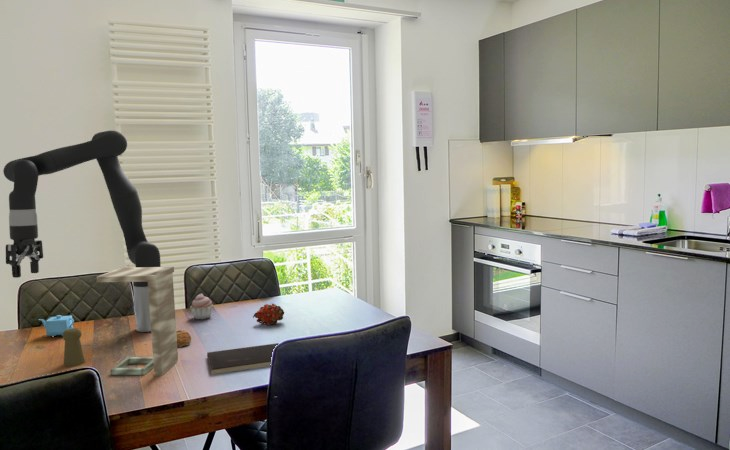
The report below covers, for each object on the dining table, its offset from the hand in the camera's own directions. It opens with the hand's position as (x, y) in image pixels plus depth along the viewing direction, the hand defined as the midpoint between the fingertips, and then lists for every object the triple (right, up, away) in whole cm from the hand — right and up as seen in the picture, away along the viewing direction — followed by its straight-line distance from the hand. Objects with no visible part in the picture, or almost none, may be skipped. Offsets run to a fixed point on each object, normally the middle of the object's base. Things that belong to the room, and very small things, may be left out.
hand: (26, 275), depth 172 cm
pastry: (+43, -26, +18) cm, 53 cm away
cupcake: (+41, -22, +50) cm, 68 cm away
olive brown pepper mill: (+15, -28, +1) cm, 32 cm away
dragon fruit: (+70, -23, +38) cm, 83 cm away
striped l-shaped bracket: (+39, -28, -5) cm, 49 cm away
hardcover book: (+70, -28, -1) cm, 75 cm away
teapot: (-7, -25, +31) cm, 40 cm away
